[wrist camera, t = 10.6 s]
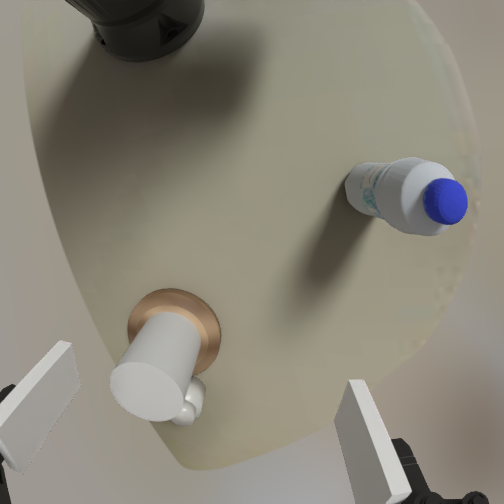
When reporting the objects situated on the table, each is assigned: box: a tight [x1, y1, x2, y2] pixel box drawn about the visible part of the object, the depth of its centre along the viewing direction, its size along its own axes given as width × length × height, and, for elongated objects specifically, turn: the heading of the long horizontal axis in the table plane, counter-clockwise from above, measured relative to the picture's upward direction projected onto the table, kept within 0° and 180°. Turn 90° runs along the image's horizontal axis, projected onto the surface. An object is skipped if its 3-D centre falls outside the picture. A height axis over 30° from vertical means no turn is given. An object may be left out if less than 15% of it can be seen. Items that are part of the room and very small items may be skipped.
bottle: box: [345, 157, 468, 236], centre depth 28 cm, size 7×7×20 cm
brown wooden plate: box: [128, 289, 221, 375], centre depth 41 cm, size 13×13×2 cm
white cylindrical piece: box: [109, 312, 201, 421], centre depth 35 cm, size 8×8×12 cm
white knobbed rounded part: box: [170, 376, 206, 426], centre depth 42 cm, size 5×5×7 cm
